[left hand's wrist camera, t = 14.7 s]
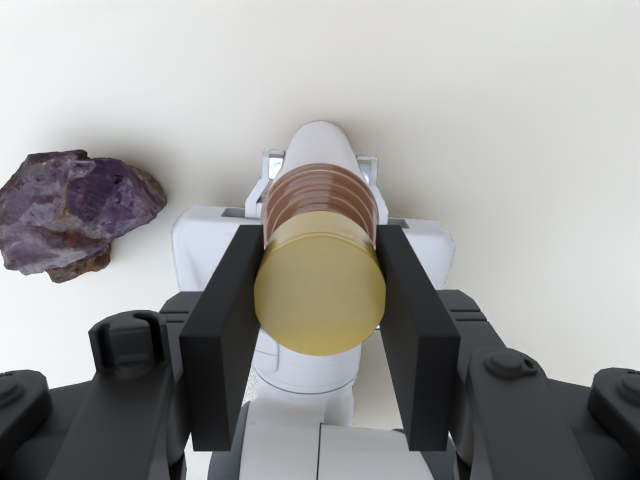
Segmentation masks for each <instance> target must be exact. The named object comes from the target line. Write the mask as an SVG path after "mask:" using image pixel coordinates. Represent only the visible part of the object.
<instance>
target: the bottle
mask: <svg viewBox="0 0 640 480" xmlns="http://www.w3.org/2000/svg"><path fill="white" fill-rule="evenodd" d="M312 211H327V212H333V213H337V214H340V215H343V216H345V217H347V218H349V219H351V220H353V221H354V222H355V223H357V224H358V225H359V226H360V227H361V228H362V229H363V230H364V231H365V232H366V233H367V235H368V236H369V238H370V240H371V241H372V244H373V246H374V247H375V243H376V225H379V210H378V206H377V202H376V200H375V197H374V195H373V193H372V191H371V188H370V186H369V184H368V182H367V180H366V178H365V176H364V173H363V171H362V169H361V167H360V165H359V163H358V161H357V158H356V156H355V154H354V152H353V150H352V148H351V145H350V143H349V141H348V139H347V137H346V135H345V134H344V133H343V131H342V130H341V129H340V128H338V127H337V126H336V125H334V124H332V123H329V122H326V121H314V122H310V123H308V124H306V125H304V126H302V127H301V128H300V129H299V130H298V131H297V132H296V133H295V135H294V136H293V138H292V140H291V143H290V145H289V147H288V149H287V151H286V153H285V155H284V158H283V160H282V162H281V164H280V166H279V168H278V171H277V173H276V175H275V177H274V179H273V181H272V183H271V186H270V188H269V190H268V192H267V194H266V196H265V199H264V202H263V204H262V209H261V216H260V224H261V225H263V228H264V245H265V248H266V245H267V243H268V241H269V239H270V237H271V236H272V234H273V233H274V232H275V230H276V229H277V228H278V227H279V226H280V225H282V224H283V223H284V222H286V221H287V220H289V219H291V218H292V217H295V216H297V215H299V214H303V213H306V212H312Z"/></svg>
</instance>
